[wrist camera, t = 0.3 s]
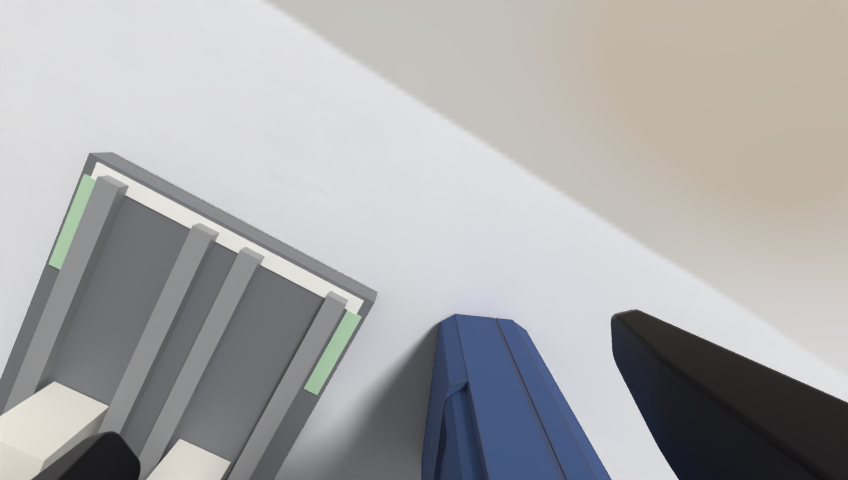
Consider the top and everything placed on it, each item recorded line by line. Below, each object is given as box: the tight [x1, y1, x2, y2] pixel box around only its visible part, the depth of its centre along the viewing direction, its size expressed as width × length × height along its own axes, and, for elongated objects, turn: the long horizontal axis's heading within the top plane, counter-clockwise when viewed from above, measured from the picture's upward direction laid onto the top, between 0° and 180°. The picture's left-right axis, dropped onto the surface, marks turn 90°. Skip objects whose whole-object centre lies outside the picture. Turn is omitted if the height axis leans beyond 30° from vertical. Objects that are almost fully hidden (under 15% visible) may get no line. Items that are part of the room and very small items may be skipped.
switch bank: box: [0, 152, 377, 480], centre depth 23 cm, size 18×15×2 cm
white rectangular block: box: [0, 381, 109, 480], centre depth 21 cm, size 4×3×4 cm
